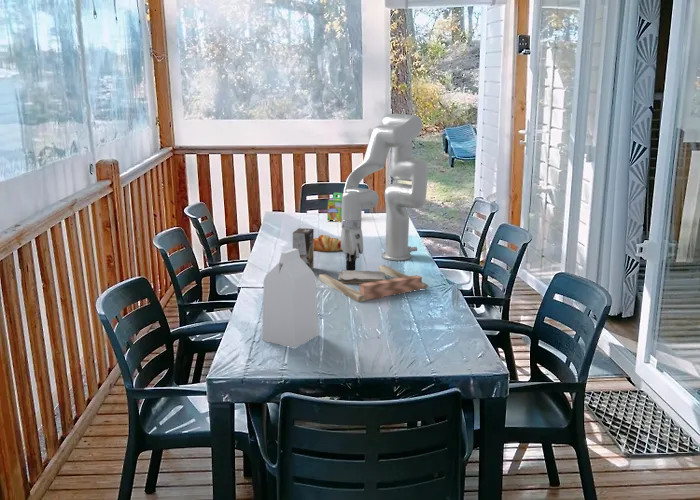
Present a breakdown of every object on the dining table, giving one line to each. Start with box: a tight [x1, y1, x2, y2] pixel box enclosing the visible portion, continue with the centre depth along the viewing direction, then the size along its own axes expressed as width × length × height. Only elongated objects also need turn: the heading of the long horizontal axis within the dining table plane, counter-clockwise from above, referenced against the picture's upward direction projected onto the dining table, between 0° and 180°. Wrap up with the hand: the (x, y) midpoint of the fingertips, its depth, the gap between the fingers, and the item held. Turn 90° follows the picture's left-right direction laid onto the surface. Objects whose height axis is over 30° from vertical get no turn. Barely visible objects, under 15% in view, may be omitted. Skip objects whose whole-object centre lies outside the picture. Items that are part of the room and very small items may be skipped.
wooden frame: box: [318, 264, 429, 303], centre depth 240 cm, size 29×29×5 cm
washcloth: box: [337, 269, 387, 285], centre depth 246 cm, size 12×18×3 cm, turn 89°
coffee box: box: [292, 227, 315, 271], centre depth 256 cm, size 9×6×16 cm
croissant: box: [313, 234, 343, 253], centre depth 291 cm, size 21×10×8 cm, turn 85°
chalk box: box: [326, 192, 343, 222], centre depth 352 cm, size 9×9×15 cm
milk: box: [261, 248, 320, 349], centre depth 187 cm, size 12×12×26 cm
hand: (350, 270), depth 254 cm, fingers closed
